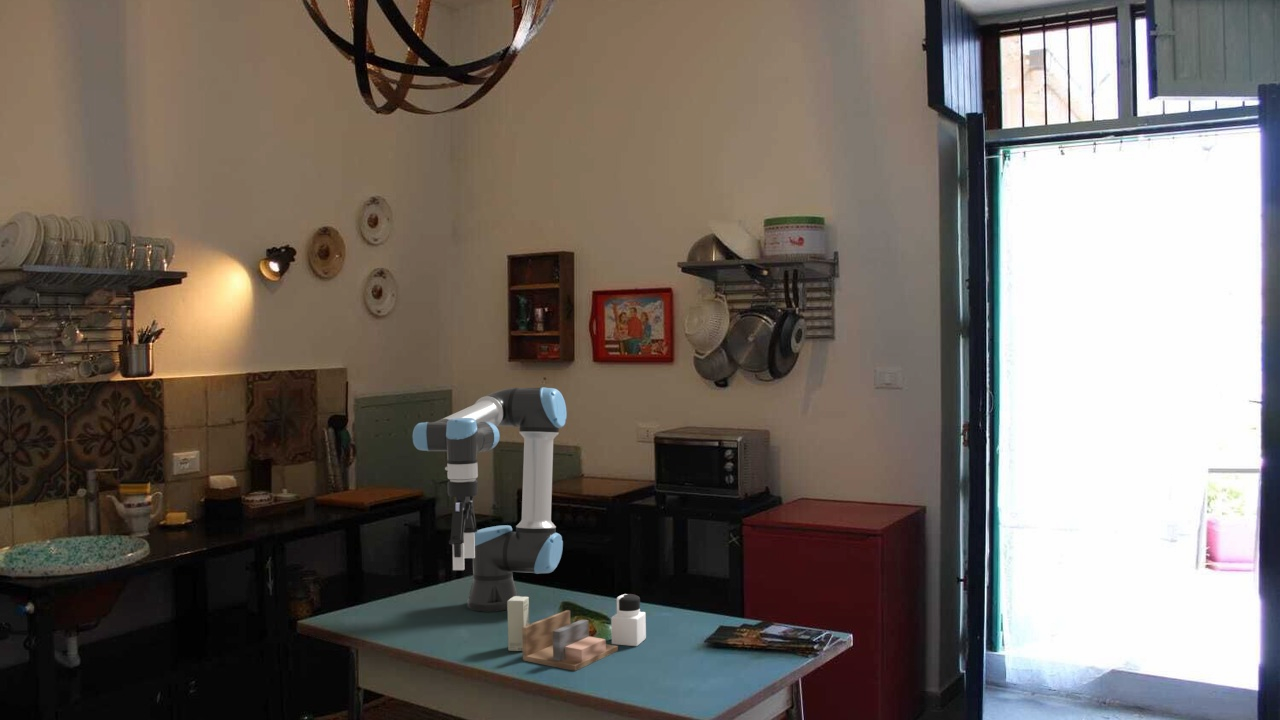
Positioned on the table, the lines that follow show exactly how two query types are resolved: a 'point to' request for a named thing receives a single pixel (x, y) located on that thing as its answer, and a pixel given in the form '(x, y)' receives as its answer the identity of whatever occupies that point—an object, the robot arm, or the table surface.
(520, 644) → the box
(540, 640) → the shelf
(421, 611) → the table surface
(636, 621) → the medicine bottle
